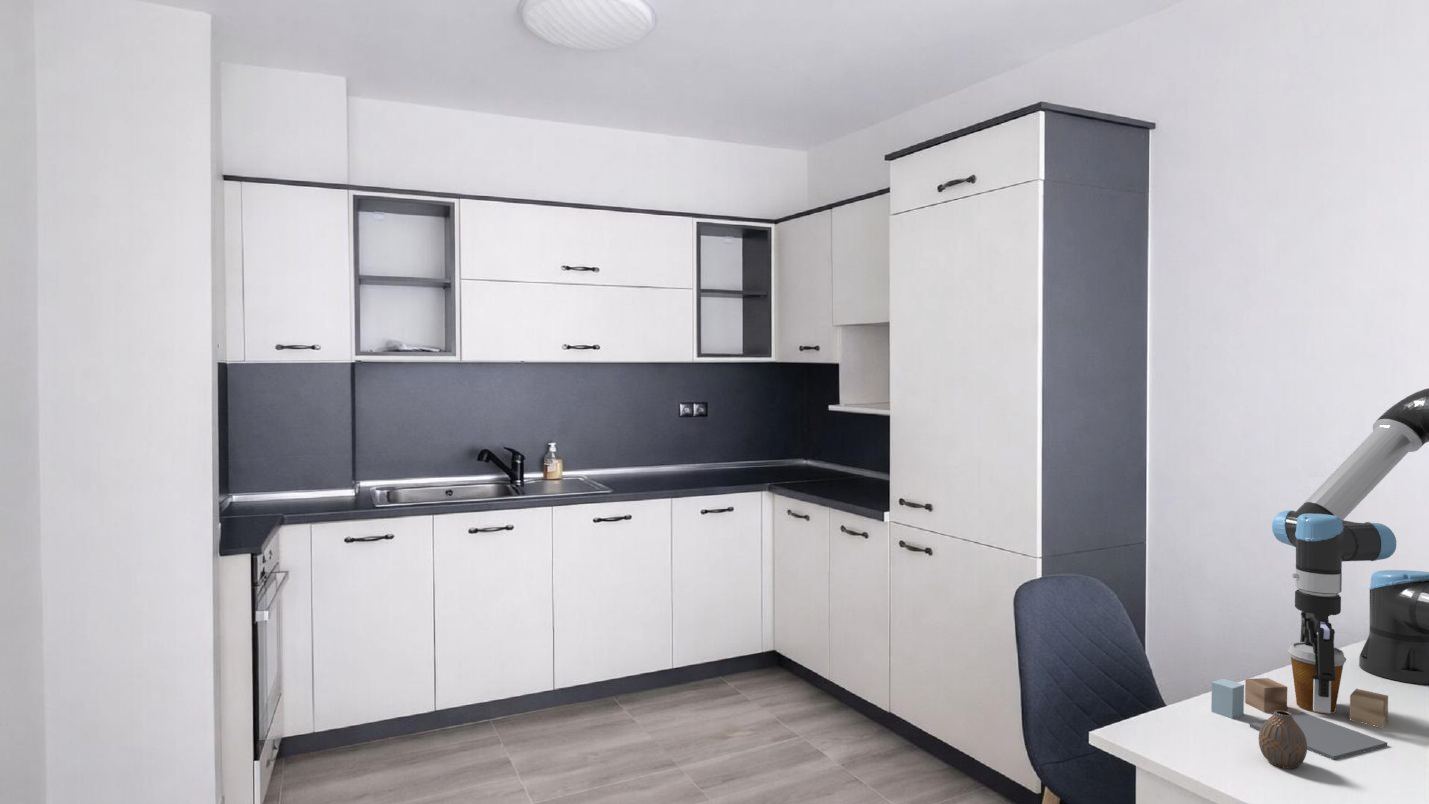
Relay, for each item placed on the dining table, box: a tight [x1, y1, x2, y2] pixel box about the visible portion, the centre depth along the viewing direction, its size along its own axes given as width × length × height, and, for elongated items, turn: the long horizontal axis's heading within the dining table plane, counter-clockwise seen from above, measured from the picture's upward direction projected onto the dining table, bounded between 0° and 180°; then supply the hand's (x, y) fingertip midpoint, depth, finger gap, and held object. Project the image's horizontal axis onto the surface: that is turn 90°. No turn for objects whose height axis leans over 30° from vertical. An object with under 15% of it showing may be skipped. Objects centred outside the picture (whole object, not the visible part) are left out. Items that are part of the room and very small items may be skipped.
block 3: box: [1349, 688, 1389, 729], centre depth 162 cm, size 5×5×5 cm
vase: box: [1258, 710, 1308, 769], centre depth 144 cm, size 7×7×9 cm
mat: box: [1249, 711, 1388, 761], centre depth 155 cm, size 15×15×1 cm
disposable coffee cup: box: [1287, 641, 1347, 714], centre depth 168 cm, size 10×10×12 cm
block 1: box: [1210, 678, 1245, 720], centre depth 165 cm, size 4×6×4 cm
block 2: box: [1244, 677, 1288, 713], centre depth 168 cm, size 5×5×5 cm
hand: (1315, 703), depth 168 cm, fingers closed on disposable coffee cup, 8 cm apart
